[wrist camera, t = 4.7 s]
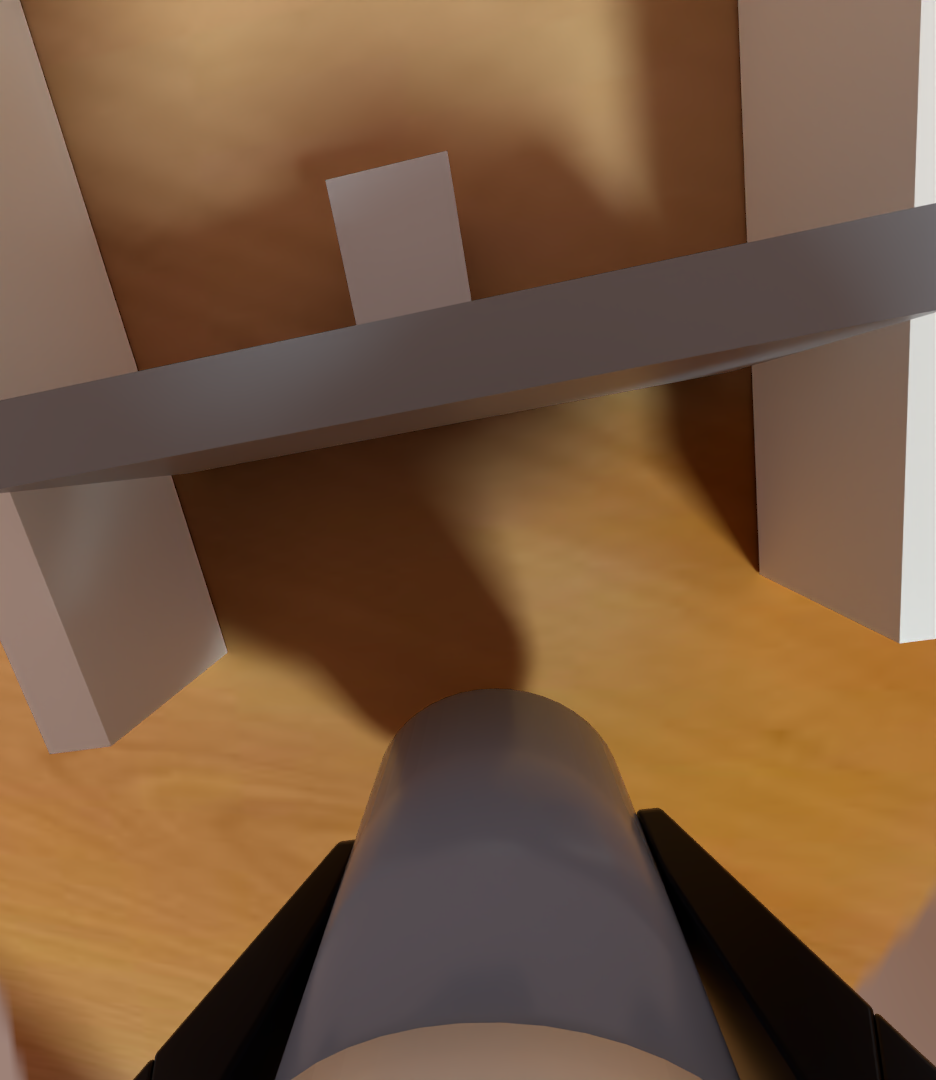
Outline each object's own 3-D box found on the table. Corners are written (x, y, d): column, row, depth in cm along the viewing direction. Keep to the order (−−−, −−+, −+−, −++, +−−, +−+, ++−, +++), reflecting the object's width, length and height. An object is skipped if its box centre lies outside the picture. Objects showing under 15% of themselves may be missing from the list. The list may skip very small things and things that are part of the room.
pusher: (729, 372, 9) (957, 305, 4) (186, 473, 10) (-49, 498, 6) (718, 144, 8) (985, -205, 4) (126, 280, 9) (-205, 133, 5)
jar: (637, 887, 9) (871, 1586, 4) (400, 908, 10) (276, 1559, 4) (613, 667, 8) (890, 1172, 3) (346, 701, 9) (74, 1200, 3)
